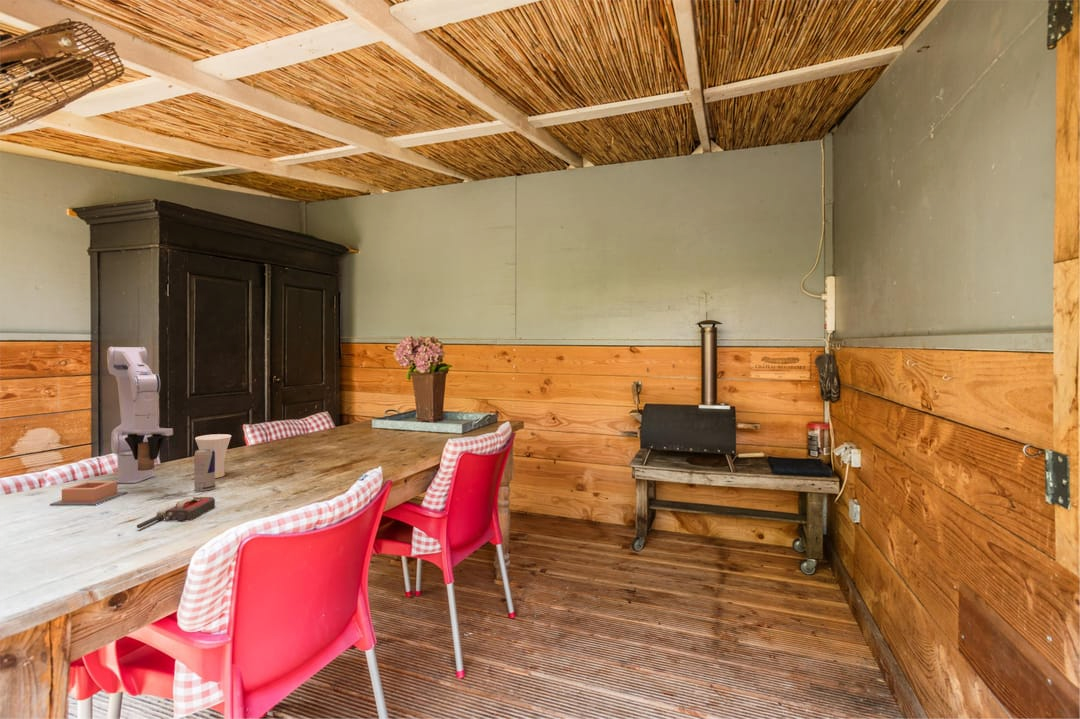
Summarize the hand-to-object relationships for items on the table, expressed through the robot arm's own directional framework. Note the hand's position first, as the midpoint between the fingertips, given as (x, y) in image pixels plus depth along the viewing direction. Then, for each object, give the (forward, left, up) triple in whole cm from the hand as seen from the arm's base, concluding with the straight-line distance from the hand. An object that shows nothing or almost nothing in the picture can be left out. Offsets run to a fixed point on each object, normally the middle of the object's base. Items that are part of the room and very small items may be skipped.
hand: (146, 459), depth 157 cm
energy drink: (-2, +16, -10) cm, 19 cm away
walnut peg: (0, 0, -3) cm, 3 cm away
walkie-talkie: (+25, +24, -10) cm, 36 cm away
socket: (+8, -10, -10) cm, 16 cm away
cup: (-18, +10, -10) cm, 23 cm away
